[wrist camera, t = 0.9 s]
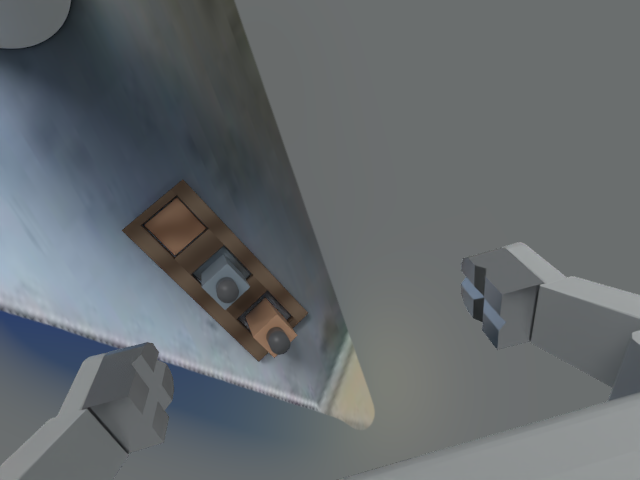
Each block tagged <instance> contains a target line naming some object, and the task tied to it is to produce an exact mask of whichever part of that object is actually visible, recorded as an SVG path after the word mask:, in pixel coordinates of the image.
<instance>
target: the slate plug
mask: <svg viewBox="0 0 640 480" xmlns="http://www.w3.org/2000/svg"><path fill="white" fill-rule="evenodd" d="M201 287H202V288H203V289H204V290H205V291H206V292H207V293H208V294H209V295H210V296H211V297H212V298H213V299H214V300H215V301H216V302H217V303H218V304H219V305H220V306H221V307H222V308H223V309H224V310H226V309H227V308H228V307H229V306H230V305H231V304H232V303H234V302H235V301H236V300H237V299H238V298H239V297H240V296H241V295H242V294H243V293H244V292H245V291H246V290H248V289H249V288H250V286H249V284H248V282H247V281H246V279H245V277H244V276H243V274H242V273H241V272H240V271H239V270H238V269H237V268H236V267H235V266H234V265H233V263H232V262H231V261H230V260H229V259H228V258H227V257H226V256H225V255H224V254H223V255H221V256H220V257H219V258H218V259H217V260H216V261H215V262H214V263H212V264H211V265H210V266H209V267H208V268H207V269H206V270H205V271H204V272H202V273H201Z"/></svg>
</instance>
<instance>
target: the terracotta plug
mask: <svg viewBox="0 0 640 480" xmlns="http://www.w3.org/2000/svg"><path fill="white" fill-rule="evenodd" d="M245 317H246V320H247V323H248V325H249V328H250V330H251V333H252V336H253V338H255V339H256V340H257V341H258V342H259V343H260V344H261V345H262V346H263V347H264V348H265V349H266V350H267V351H268V352H269V353H270V354H271V355H272V356H273V357H274V358H275V357H276V356H277V355H280V354H284V353H286V352H287V351H288V349H289V348H290V342H291V341H292V340H293V339H294V338H295V337H296V336H297V334H296V333H295V331H294V330H293V329H292V327H291V326H290V325H289V323H288V322H287V320H286V319H285V318H284V316H283V315H282V314H281V313H280V312H279V311H278V310H277V309H276V308H275V307H274V306H273V305H272V304H271V303H270V302H269V301H268V300H267V299H266V298H264V299H263V300H262V301H261V302H260V303H259V304H258V305H257V306H256V307H255V308H253V309H252V310H251V311H250V312H249V313H248V314H247V315H246V316H245Z"/></svg>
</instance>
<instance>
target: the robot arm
mask: <svg viewBox="0 0 640 480" xmlns="http://www.w3.org/2000/svg"><path fill="white" fill-rule="evenodd" d="M70 4H71V0H0V48H7V49H15V48H25V47H29V46H33V45H36V44H39V43H41V42H43V41H45V40H47V39H48V38H50V37H51V36H52V35H54V34H55V33H56V32H57V31H58V30H59V29H60V27H61V26H62V25H63V23H64V22H65V20H66V18H67V15H68V13H69V9H70ZM461 271H462V272H463V274H464V275H465V276H466V278H465V279H464V281H463V282H462V284H461V294H462V298H463V301H464V304H465V306H466V308H467V310H468V312H469V313H470V315H471V316H472V317H473V318H474V319H476V320H479V321H481V322H483V327H482V331H483V332H484V333H485V334H486V336H487V337H488V338H489V340H490V341H491V342H492V344H493V345H494V346H495V348H497V350H498V349H502V348H506V347H510V346H514V345H518V344H522V343H526V342H530V341H531V344H533V345H535V346H537V347H539V348H540V349H542V350H544V351H546V352H548V353H549V354H551V355H553V356H555V357H557V358H559V359H561V360H562V361H564V362H566V363H568V364H570V365H572V366H574V367H575V368H577V369H579V370H581V371H583V372H584V373H586V374H588V375H590V376H592V377H594V378H596V379H597V380H599V381H601V382H603V383H605V384H607V385H608V386H610V387H612V390H611V393H610V396H609V398H608V401H607V402H604V403H600V404H597V405H593V406H590V407H586V408H583V409H579V410H576V411H573V412H569V413H566V414H563V415H559V416H555V417H552V418H548V419H545V420H542V421H538V422H535V423H531V424H528V425H524V426H521V427H518V428H514V429H510V430H507V431H503V432H500V433H497V434H493V435H490V436H486V437H483V438H479V439H476V440H473V441H469V442H466V443H462V444H459V445H455V446H452V447H448V448H445V449H441V450H438V451H434V452H431V453H427V454H424V455H421V456H417V457H414V458H410V459H407V460H403V461H400V462H396V463H393V464H390V465H386V466H383V467H379V468H376V469H372V470H369V471H365V472H362V473H358V474H355V475H352V476H348V477H345V478H341V479H338V480H640V295H637V294H634V293H630V292H627V291H623V290H619V289H616V288H613V287H609V286H606V285H602V284H599V283H595V282H592V281H588V280H584V279H581V278H578V277H574V276H572V277H568V278H567V277H565V276H564V275H563V274H562V273H561V272H559V271H558V270H557V269H556V268H554V267H553V266H552V265H551V264H549V263H548V262H547V261H546V260H544V259H543V258H542V257H541V256H539V255H538V254H537V253H535V252H534V251H533V250H532V249H530V248H529V247H528V246H527V245H526V244H524V243H520V242H518V243H514V244H511V245H507V246H504V247H501V248H499V249H495V250H491V251H488V252H484V253H480V254H477V255H473V256H469V257H466V258H463V261H462V263H461ZM158 353H159V352H158V350H157V349H156V347H155V346H154V344H153V343H148V342H147V343H143V344H139V345H135V346H131V347H127V348H123V349H118V350H114V351H110V352H108V353H104V354H100V355H95V356H91V357H88V358H87V359H86V360H85V361H83V363H82V365H81V367H80V369H79V371H78V373H77V375H76V378H75V380H74V382H73V384H72V386H71V388H70V390H69V392H68V394H67V396H66V398H65V400H64V403H63V405H62V407H61V409H60V411H59V413H58V415H57V417H55V418H51V419H49V420H48V421H47V422H46V423H45V424H44V425H43V426H42V427H41V428H40V429H39V430H38V431H37V432H36V433H34V434H33V435H32V436H31V437H30V438H29V439H28V440H27V441H26V442H25V443H24V444H23V445H22V446H21V447H20V448H19V449H18V450H17V451H15V452H14V453H13V454H12V455H11V456H10V457H9V458H8V459H7V460H6V461H5V462H4V463H3V464H2V465H1V466H0V480H113V479H114V477H115V476H116V474H117V473H118V471H119V470H120V468H121V467H122V465H123V464H124V462H125V461H126V459H127V458H128V456H129V455H128V454H129V453H132V452H136V451H139V450H142V449H146V448H149V447H152V446H155V445H159V444H162V443H164V440H165V434H166V430H167V425H168V420H169V416H168V415H167V413H166V412H165V409H166V408H167V407H168V405H169V404H170V403H171V401H172V399H173V392H174V385H173V377H172V374H171V371H170V369H169V368H168V366H167V364H166V363H163V362H161V361H159V360H157V357H158Z"/></svg>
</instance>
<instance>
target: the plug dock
mask: <svg viewBox="0 0 640 480" xmlns="http://www.w3.org/2000/svg"><path fill="white" fill-rule="evenodd" d="M176 196H178V197H179V198H180V199H181V200H182V201H183V202H184V203H185V204H186V206H187V207H188V208H189V209H190V210H191V211H192V212H193V213H194V214H195V215H196V216H197V217H198V218H199V219H200V220H201V221H202V222H203V223H204V224H205V225H206V226H207V227H208V229H207V230H206V231H205V232H204V233H202V232H203V231H204V230H205V229H206V227H205V226H204V225H203V224H202V223H201V222H200V221H199V220H198V219H197V218H196V217H195V216H194V214H193V213H192V212H191V211H190V210H189V209H188V208H187V207H186V206H185V205H184V204H183V203H182V202H181V201H180V200H179V199H178V198H176V199H175V200H173V201H172V202H171V203H170V204H169V205H167V206H166V207H165V208H164V209H163V210H162V211H160V212H159V213H158V214H157V215H156V216H154V217H153V218H152V219H151V220H150V221H148V222H147V223H146V224H145V225H144V226H145V227H146V228H147V229H148V230H149V231H150V232H151V233H152V234H153V235H154V236H155V237H157V238H158V239H159V240H160V241H161V242H162V243H163V244H164V245H165V246H166V247H167V248H168V249H169V250H170V251H171V252H172V253H173V254H174V255H176V254H177V253H179V252H180V251H181V250H182V249H183V248H184V247H185V246H187V245H188V244H189V243H190V242H191V241H192V240H194V239H195V238H196V237H197V236H198V235H199V234H200V233H202V234H201V235H200V236H199V237H198V238H197V239H196V240H194V241H193V242H192V243H191V244H190V245H189V246H188V247H186V248H185V249H184V250H183V251H182V252H181V253H180V254H178V255H177V256H176V257H174V256H173V255H172V254H171V253H170V252H169V251H168V250H167V249H166V248H165V247H164V246H163V245H162V244H161V243H160V242H159V241H158V240H157V239H156V238H155V237H154V236H153V235H152V234H151V233H150V232H148V231H147V230H146V229H145V228H144V227H143V226H142V225H143V224H144V223H145V222H146V221H147V220H149V219H150V218H151V217H152V216H153V215H154V214H156V213H157V212H158V211H159V210H160V209H162V208H163V207H164V206H165V205H166V204H168V203H169V202H170V201H171V200H172V199H174V198H175V197H176ZM122 231H123V232H124V233H125V234H126V235H127V236H128V237H129V238H130V239H131V240H132V241H133V242H134V243H135V244H136V245H137V246H139V247H140V248H141V249H142V250H143V251H144V252H145V253H146V254H147V255H148V256H149V257H150V258H151V259H152V260H153V261H154V262H155V263H156V264H157V265H158V266H159V267H160V268H161V269H163V270H164V271H165V272H166V273H167V274H168V275H169V276H170V277H171V278H172V279H173V280H174V281H175V282H176V283H177V284H178V285H179V286H180V287H181V288H182V289H183V290H184V291H185V292H187V293H188V294H189V295H190V296H191V297H192V298H193V299H194V300H195V301H196V302H197V303H198V304H199V305H200V306H201V307H202V308H203V309H204V310H205V311H206V312H207V313H208V314H209V315H211V316H212V317H213V318H214V319H215V320H216V321H217V322H218V323H219V324H220V325H221V326H222V327H223V328H224V329H225V330H226V331H227V332H228V333H229V334H230V335H231V336H232V337H233V338H235V339H236V340H237V341H238V342H239V343H240V344H241V345H242V346H243V347H244V348H245V349H246V350H247V351H248V352H249V353H250V354H251V355H252V356H253V357H254V358H255V359H256V360H257V361H260V360H261V359H262V358H263V357H264V356H265V355H266V354H267V353H268V351H267V350H266V349H265V348H264V347H263V346H262V345H261V344H260V343H259V342H258V341H257V340H256V339H255V338H253V336H252V333H251V332H250V331H249V330H248V329H247V328H246V327H245V326H244V325H243V324H242V323H241V322H240V321H239V320H238V319H237V318H239V317H240V316H241V315H242V314H243V313H244V312H245V311H246V310H247V309H248V308H249V307H250V306H251V305H252V304H253V303H254V302H256V301H257V300H258V299H259V298H260V297H261V296H262V295H263V294H264V293H265V292H266V291H267V290H268V291H269V292H270V293H271V294H272V295H273V296H274V297H275V299H276V300H277V301H278V302H279V303H280V304H281V305H282V306H283V307H284V308H285V309H286V310H287V311H288V312H289V313H290V314H291V315H292V316H291V317H290V318H289V319H288V320H287V322H288V323H289V325H290V326H291V327H292V329H293V328H294V327H295V326H296V325H297V324H298V323H299V322H300V321H301V320H302V319H303V318H304V317H305V316H306V315H307V314H308V312H307V311H306V310H305V309H304V308H303V307H302V306H301V305H300V304H299V303H298V302H297V301H296V300H295V298H294V297H293V296H292V295H291V294H290V293H289V292H288V291H287V290H286V289H285V288H284V287H283V286H282V285H281V284H280V282H279V281H278V280H277V279H276V278H275V277H274V276H273V275H272V274H271V273H270V272H269V271H268V270H267V269H266V268H265V266H264V265H263V264H262V263H261V262H260V261H259V260H258V259H257V258H256V257H255V256H254V255H253V254H252V253H251V252H250V250H249V249H248V248H247V247H246V246H245V245H244V244H243V243H242V242H241V241H240V240H239V239H238V238H237V237H236V236H235V234H234V233H233V232H232V231H231V230H230V229H229V228H228V227H227V226H226V225H225V224H224V223H223V222H222V221H221V220H220V218H219V217H218V216H217V215H216V214H215V213H214V212H213V211H212V210H211V209H210V208H209V207H208V206H207V205H206V203H205V202H204V201H203V200H202V199H201V198H200V197H199V196H198V195H197V194H196V193H195V192H194V191H193V190H192V189H191V187H190V186H189V185H188V184H187V183H186V182H185V181H184V180H181V181H180V182H179V183H178V184H177V185H175V186H174V187H173V188H172V189H171V190H169V191H168V192H167V193H166V194H165V195H163V196H162V197H161V198H160V199H159V200H157V201H156V202H155V203H154V204H153V205H151V206H150V207H149V208H148V209H147V210H145V211H144V212H143V213H142V214H141V215H140V216H138V217H137V218H136V219H135V220H134V221H132V222H131V223H130V224H129V225H128V226H126V227H125V228H124V229H123V230H122ZM224 245H225V246H226V247H227V248H228V249H229V250H230V251H231V253H232V254H233V255H234V256H235V257H236V258H237V259H238V260H239V261H240V262H241V263H242V264H243V265H244V266H245V267H246V268H247V269H248V270H249V271H250V272H251V273H252V274H251V275H250V273H249V272H248V271H247V270H246V269H245V268H244V267H243V266H242V265H241V264H240V262H239V261H238V260H237V259H236V258H235V257H234V256H233V255H232V254H231V253H230V252H229V251H228V250H227V249H226V248H225V247H224ZM222 246H223V247H222ZM221 247H222V248H221ZM213 254H214V255H213ZM223 254H224V255H225V256H226V257H227V258H228V259H229V260H230V261H231V262H232V263H233V265H234V266H235V267H236V268H237V269H238V270H239V271H240V272H241V273H242V274H243V276H244V277H245V278H247V277H248V276H249V275H250V276H249V277H248V278H247V279H246V281H247V282H248V284H249V286H250V288H249V289H248V290H246V291H245V292H244V293H243V294H242V295H241V296H240V297H239V298H238V299H237V300H236V301H235V302H234V303H232V304H231V305H230V306H229V307H228V308H227V309H226V310H224V309H223V308H222V307H221V306H220V305H219V304H218V303H217V302H216V301H215V300H214V299H213V298H212V297H211V296H210V295H209V294H208V293H207V292H206V291H205V290H204V289H203V288H202V287H201V283H200V282H199V281H198V280H197V279H196V278H195V277H194V276H193V275H192V273H193V272H194V271H195V270H196V271H195V272H194V273H193V274H194V275H195V276H196V277H197V278H198V279H199V280H200V281H201V273H202V272H204V271H205V270H206V269H207V268H208V267H209V266H210V265H211V264H212V263H214V262H215V261H216V260H217V259H218V258H219V257H220V256H221V255H223ZM212 255H213V256H212ZM204 262H205V263H204ZM203 263H204V264H203ZM202 264H203V265H202Z"/></svg>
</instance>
